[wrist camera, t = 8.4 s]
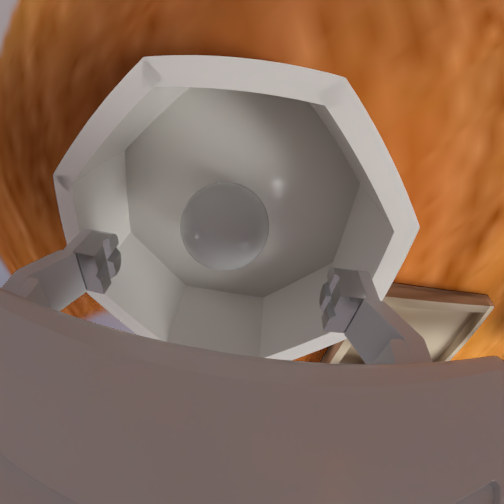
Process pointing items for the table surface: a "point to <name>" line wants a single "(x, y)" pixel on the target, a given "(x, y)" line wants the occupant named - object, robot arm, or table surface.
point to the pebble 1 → (224, 226)
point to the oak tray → (427, 320)
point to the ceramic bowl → (249, 175)
